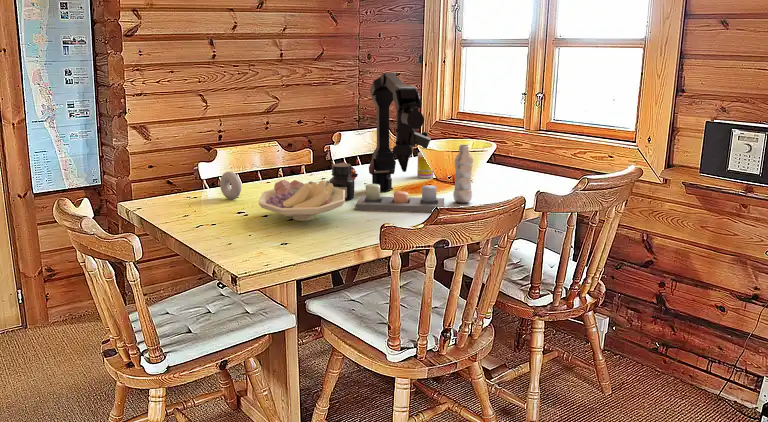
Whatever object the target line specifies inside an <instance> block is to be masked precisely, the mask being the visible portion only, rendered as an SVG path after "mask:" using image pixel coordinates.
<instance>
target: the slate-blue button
mask: <svg viewBox="0 0 768 422" xmlns="http://www.w3.org/2000/svg"><path fill="white" fill-rule="evenodd" d="M437 190H438V189H437V186H436V185H430V184H429V185H428V184H427V185H423V186H422V187H421V198H422V200H423V201H436V198H437Z"/></svg>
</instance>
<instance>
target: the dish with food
mask: <svg viewBox="0 0 768 422" xmlns="http://www.w3.org/2000/svg"><path fill="white" fill-rule="evenodd" d="M345 201H346V200H345V190H342V189H338V188H334V187H333V184H332V183H329V182H326V181H325V180H324V179H322V180H320V181H319V183H317V182H316V181H315V182H314V181H308V182H307V183H303V182H301V181H299V180H296V179H293V180H292V181H291V182H290V181H288V180H286V179H282V180H279V181H277V182H275V183H274V187H273V189H269V190H265V191H263V192H262V193H261V195H260V197H259V200H258V201H257V203H258V205H259V207H260V208H261V209H264V210H267V211H270V212H272V213H273V212H274V213H276V214H280V215H283V216H287V217H292V219H293V220H295V221H297V222H299V221H300V222H301V221H302V222H303V221H310V220H313V219H314V218H315V216H316V215H317V216H318V215H319V214H323V213H326V212H329V211H333V210H335V209H337V208H340V207H342V206H343V204H344V203H345Z"/></svg>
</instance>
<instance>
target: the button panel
mask: <svg viewBox="0 0 768 422" xmlns="http://www.w3.org/2000/svg"><path fill="white" fill-rule="evenodd" d="M435 207H444V208H445V198H443V197H436V201H423V200H422V197H414V196H413V197H411V196H410V197H409V196H408V204H407V203H394V196H380V199H377V200H369V199H366V195H360V197H359V198H358V199H357V201H356V203H355V211H375V212H376V211H377V212H379V211H381V212H404V211H411V212H410V213H433V212H432V210H433V209H434V208H435ZM415 211H417V212H415Z"/></svg>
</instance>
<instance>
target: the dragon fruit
mask: <svg viewBox="0 0 768 422" xmlns="http://www.w3.org/2000/svg"><path fill="white" fill-rule="evenodd" d="M344 163H345V164H348V163H347V162H344ZM358 176H359V174H358V173H357V171H356V169H355V167H353V166H352V165H351V176H350V177H352V178H353V179H354V181H355V180H356V178H357V177H358Z"/></svg>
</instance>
